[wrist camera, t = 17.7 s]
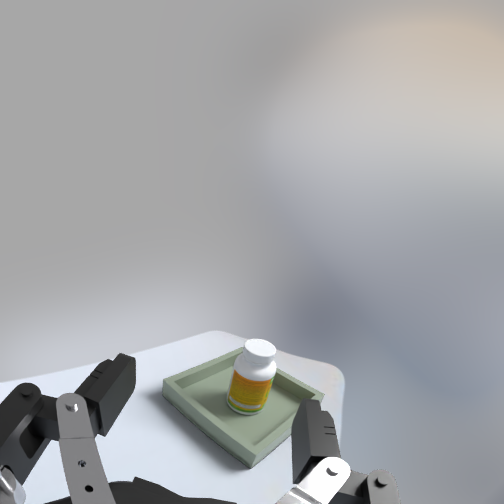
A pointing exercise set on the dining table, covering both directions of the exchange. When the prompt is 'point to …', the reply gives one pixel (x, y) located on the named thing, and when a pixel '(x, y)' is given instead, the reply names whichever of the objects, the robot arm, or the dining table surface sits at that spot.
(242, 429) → the tray
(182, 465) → the dining table surface
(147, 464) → the dining table surface
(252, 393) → the supplement bottle
